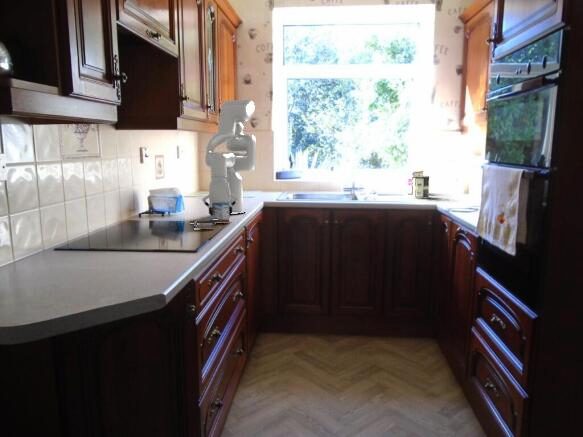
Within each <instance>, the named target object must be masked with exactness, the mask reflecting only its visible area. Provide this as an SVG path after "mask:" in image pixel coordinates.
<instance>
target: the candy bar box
mask: <svg viewBox="0 0 583 437" xmlns="http://www.w3.org/2000/svg"><path fill="white" fill-rule="evenodd" d="M413 176H424V170H420V169H419V170H417V169H415V170H408V171H407V182H406V183H407V186H406V187H407V188H406V194H407V195H413Z"/></svg>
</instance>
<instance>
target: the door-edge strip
mask: <svg viewBox="0 0 583 437" xmlns="http://www.w3.org/2000/svg"><path fill="white" fill-rule="evenodd" d="M207 220H208V219H202V220H201V219H200V220H199V219H197V220H196V219H195V220H189V224H190V223H194V222H195V221H207ZM215 222H229V223H230V221H229V219H220V220H215Z"/></svg>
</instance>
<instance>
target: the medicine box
mask: <svg viewBox="0 0 583 437" xmlns="http://www.w3.org/2000/svg"><path fill="white" fill-rule="evenodd" d="M211 207H212V216H211V220H212V219H218V220H220V219H231V217H230V216H231V215H229V203H213V204H212V206H211Z"/></svg>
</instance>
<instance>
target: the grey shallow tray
mask: <svg viewBox="0 0 583 437" xmlns="http://www.w3.org/2000/svg"><path fill="white" fill-rule="evenodd" d="M206 220H207V221H195V222H194V225H192V229H193V228H214V225H216V224H215V220H212V219H206ZM197 223H212V225H197ZM196 225H197V226H196ZM214 229H215V228H214Z"/></svg>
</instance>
